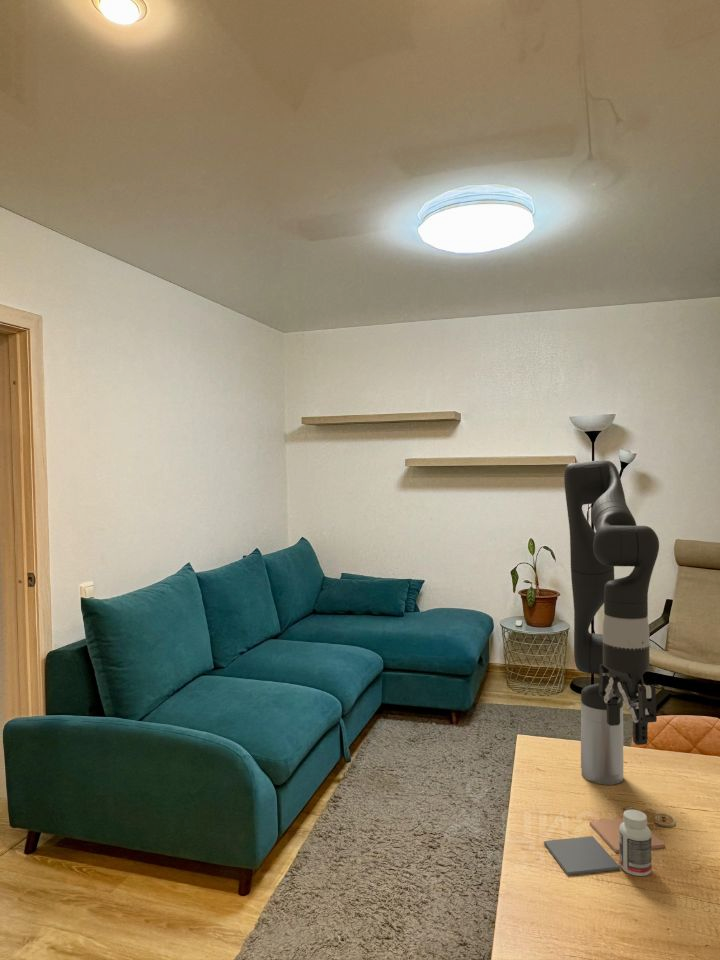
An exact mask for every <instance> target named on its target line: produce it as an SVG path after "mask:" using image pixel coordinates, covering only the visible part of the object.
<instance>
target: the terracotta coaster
mask: <svg viewBox="0 0 720 960" xmlns="http://www.w3.org/2000/svg"><path fill="white" fill-rule="evenodd" d="M623 822H624V821H623V817H622V818H614V819H613V818H612V819H603V820H602V819H601V820H592V821H589V825H590V826H591V827H592V828H593V829H594V831H595V832H596V833H597V835H599V836H600V837H601V838H602V840H603V841H604V842H605V843H606V844H607V845H608V846H609V847H610V848H611V849H612V851H613V852H614V853H616V854H617V853H618V854H619V827H620V825H621V823H623ZM662 848H666V847H665V843H664V842H663V841H662V840H661V839H660V838H659V837H657V835H655V834H654V833H653V832H652V831H651V850H656V849H662Z"/></svg>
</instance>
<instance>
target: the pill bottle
mask: <svg viewBox="0 0 720 960" xmlns="http://www.w3.org/2000/svg"><path fill="white" fill-rule="evenodd" d="M622 816H623V817H622V818H623V821H624V822H623V823H621V825H620V827H619V852H618V854H619V866H620V869H622V870H623V872H625V873H628V874H629V875H632V876H637V877H645V876H648V875H650V874H651V872H652V863H653V862H652V849H651V832H652V831H651V829H649V828H648V827H647V816H646V814H644V813H643V811H640V810H638V809H636V810H626V811H623V815H622Z"/></svg>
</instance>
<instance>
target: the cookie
mask: <svg viewBox="0 0 720 960" xmlns="http://www.w3.org/2000/svg"><path fill="white" fill-rule="evenodd" d="M622 809H623V812H625V811H626V810H637V808H636V809H635V808H634V807H632V806H624V807H623V808H622ZM642 812H643V813H644V814H646V816H647V827H648V828H649V829H650V830H656V829H657V827H656V826H658V827H660V828H664V829H665V828H666V829H668V828H669V829H670V828H671V829H672V828H674V827H676V825H677V820H676V819H675V818H674V817H673V816H672V815H670V814H669V813H668V814H667V813H664V812H656V811H655V809H652V808H645V809H644V810H643V811H642Z"/></svg>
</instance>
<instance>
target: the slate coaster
mask: <svg viewBox="0 0 720 960" xmlns="http://www.w3.org/2000/svg"><path fill="white" fill-rule="evenodd" d="M543 845H544V846H545V848H546V849H547V850H548V851H549V853H550V854H551V855H552V856H553V858H554V859H555V860H556V863H558V865H559V866H560V867H561V869H562V870H563V871H564V872H565V874H566V875H567V876H575V875H576V876H577V875H585V874H593V873H602V872H611V871H618V870H619V871H620V870H621V866H620V864H618V863H617V862H616V860H615V859H614V858H613V857H612V856H611V855H610V854H609V853H608V851H606V850H607V849H605V848H604V847H603V846H602V845H601V844H600V843H599V841H598V840H597V839H596V838H595V837H594V836H593V835H589V836H579V837H572V838H559V839H551V840H544V841H543Z"/></svg>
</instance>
